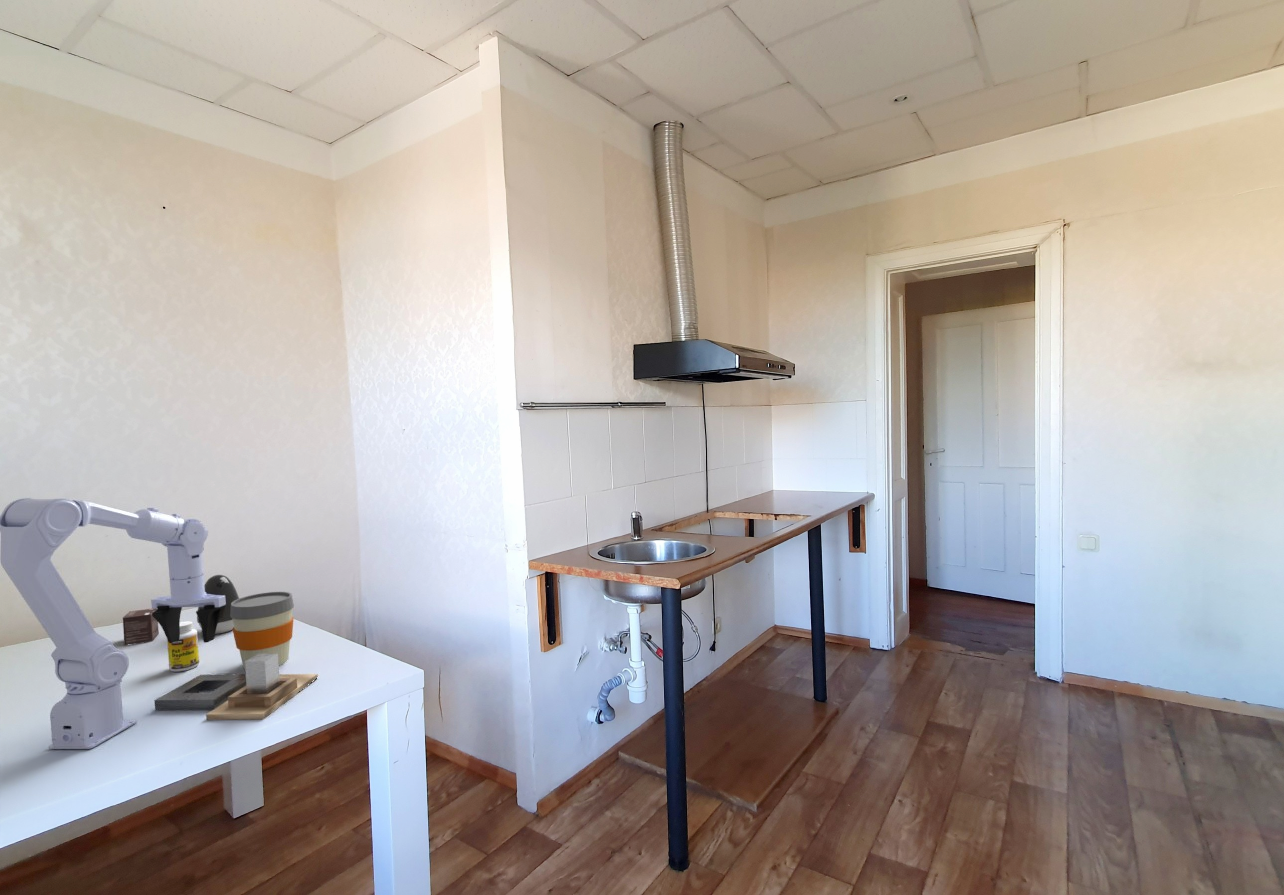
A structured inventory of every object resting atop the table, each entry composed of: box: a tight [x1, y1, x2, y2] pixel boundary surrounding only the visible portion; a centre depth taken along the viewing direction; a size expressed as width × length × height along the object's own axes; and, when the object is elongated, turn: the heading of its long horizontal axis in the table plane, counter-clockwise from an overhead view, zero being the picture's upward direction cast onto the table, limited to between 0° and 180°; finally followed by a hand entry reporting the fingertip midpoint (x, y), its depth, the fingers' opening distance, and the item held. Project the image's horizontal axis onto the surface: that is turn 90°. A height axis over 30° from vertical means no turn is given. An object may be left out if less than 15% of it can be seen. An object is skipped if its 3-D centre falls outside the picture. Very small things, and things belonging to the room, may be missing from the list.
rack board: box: [205, 673, 319, 721], centre depth 126 cm, size 18×11×3 cm, turn 177°
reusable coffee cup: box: [230, 591, 295, 670], centre depth 145 cm, size 13×13×15 cm
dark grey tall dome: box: [196, 574, 240, 635], centre depth 169 cm, size 10×10×15 cm
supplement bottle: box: [166, 620, 200, 673], centre depth 144 cm, size 6×6×10 cm
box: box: [122, 608, 160, 646], centre depth 164 cm, size 6×6×7 cm
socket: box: [154, 673, 247, 711], centre depth 128 cm, size 12×12×2 cm
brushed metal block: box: [244, 653, 280, 694], centre depth 124 cm, size 4×4×8 cm
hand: (191, 641), depth 131 cm, fingers open, 7 cm apart
